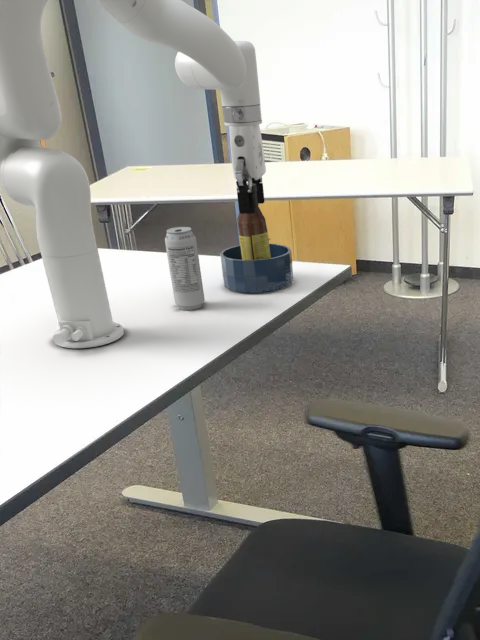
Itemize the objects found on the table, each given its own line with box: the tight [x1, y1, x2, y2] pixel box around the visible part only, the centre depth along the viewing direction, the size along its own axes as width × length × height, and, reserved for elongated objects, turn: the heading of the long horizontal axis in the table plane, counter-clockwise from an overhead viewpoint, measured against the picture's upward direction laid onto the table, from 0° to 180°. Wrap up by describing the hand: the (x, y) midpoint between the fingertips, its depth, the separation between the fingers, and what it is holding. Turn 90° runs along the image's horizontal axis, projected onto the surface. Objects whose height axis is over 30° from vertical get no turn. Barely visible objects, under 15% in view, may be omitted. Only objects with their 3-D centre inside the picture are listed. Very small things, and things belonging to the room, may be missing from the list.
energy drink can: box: [164, 226, 206, 311], centre depth 153 cm, size 6×6×15 cm
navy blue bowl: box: [219, 242, 294, 294], centre depth 167 cm, size 15×15×7 cm
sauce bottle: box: [236, 182, 271, 260], centre depth 164 cm, size 6×6×20 cm
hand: (252, 208), depth 161 cm, fingers open, 9 cm apart
